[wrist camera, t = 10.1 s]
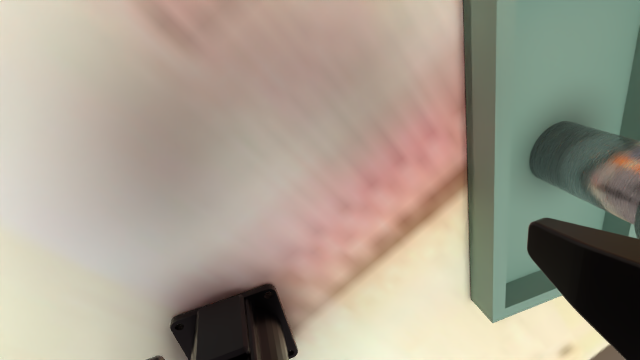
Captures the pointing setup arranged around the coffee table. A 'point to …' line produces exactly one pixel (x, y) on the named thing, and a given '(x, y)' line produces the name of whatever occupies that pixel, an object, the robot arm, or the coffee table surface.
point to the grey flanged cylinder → (591, 167)
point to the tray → (538, 126)
